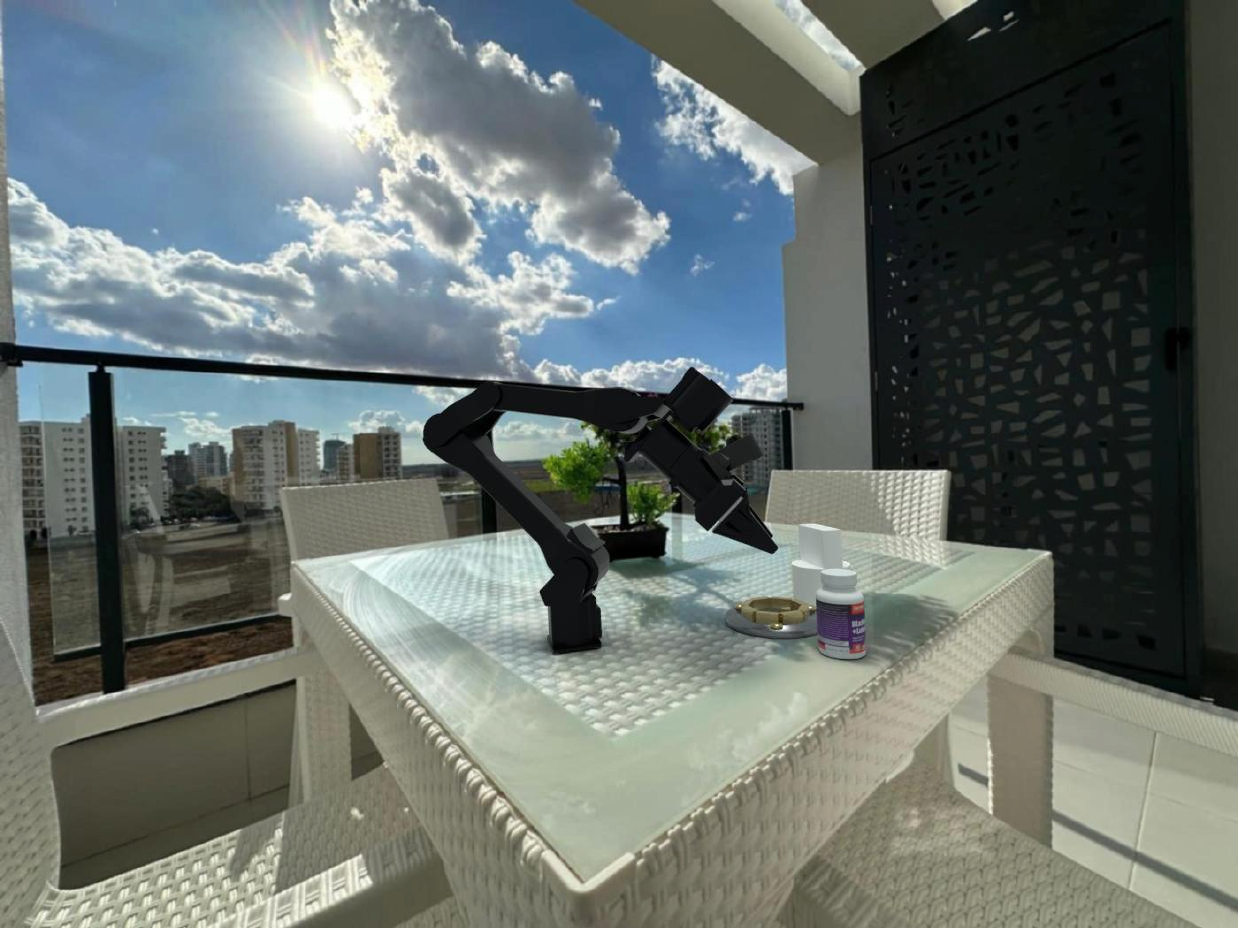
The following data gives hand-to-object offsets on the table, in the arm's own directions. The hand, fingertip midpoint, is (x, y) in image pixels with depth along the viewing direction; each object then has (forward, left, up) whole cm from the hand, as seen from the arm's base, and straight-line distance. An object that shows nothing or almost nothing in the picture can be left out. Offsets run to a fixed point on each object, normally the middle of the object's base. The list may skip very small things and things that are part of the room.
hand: (773, 544), depth 64 cm
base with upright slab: (+19, +16, -13) cm, 28 cm away
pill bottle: (+7, -4, -13) cm, 15 cm away
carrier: (+6, +9, -13) cm, 17 cm away
